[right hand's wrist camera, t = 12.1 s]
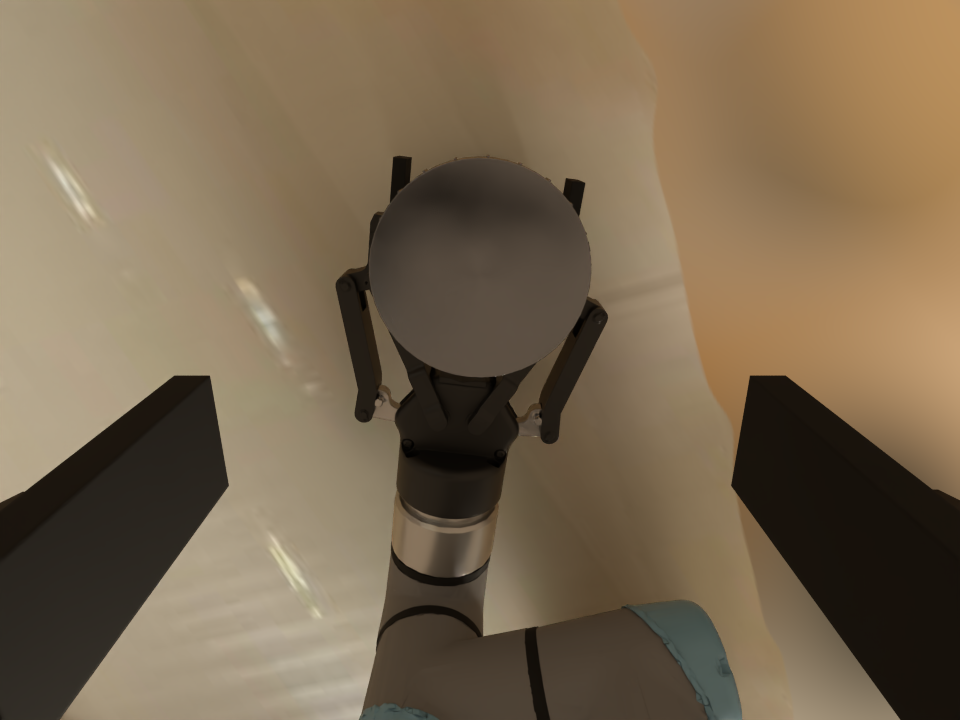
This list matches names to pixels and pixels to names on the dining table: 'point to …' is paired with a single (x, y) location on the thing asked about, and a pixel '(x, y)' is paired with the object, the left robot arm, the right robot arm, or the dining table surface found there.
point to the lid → (480, 267)
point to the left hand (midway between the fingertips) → (489, 168)
